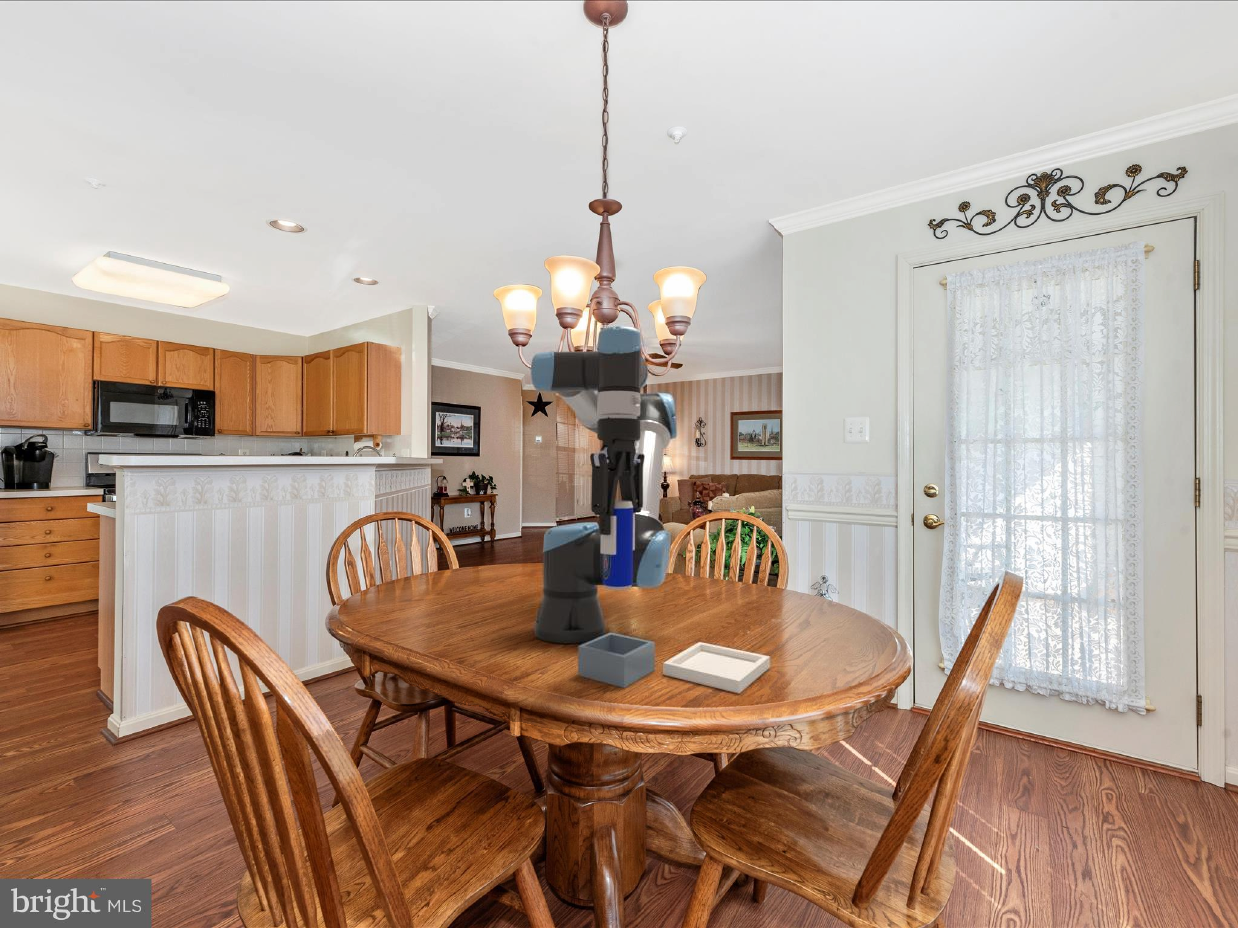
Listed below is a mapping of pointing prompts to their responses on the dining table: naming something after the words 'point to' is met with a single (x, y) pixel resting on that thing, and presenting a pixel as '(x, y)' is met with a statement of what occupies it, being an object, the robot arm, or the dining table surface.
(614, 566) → the beverage can
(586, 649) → the holder sleeve
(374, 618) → the dining table surface
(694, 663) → the tray
